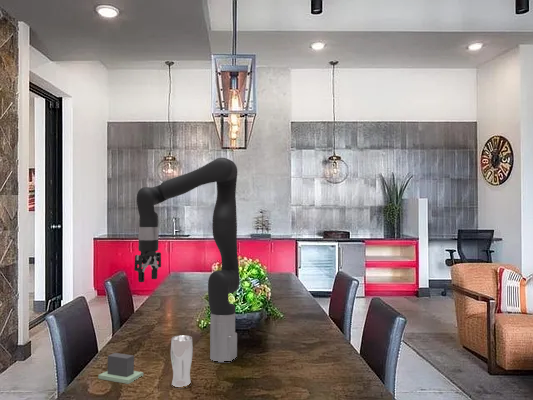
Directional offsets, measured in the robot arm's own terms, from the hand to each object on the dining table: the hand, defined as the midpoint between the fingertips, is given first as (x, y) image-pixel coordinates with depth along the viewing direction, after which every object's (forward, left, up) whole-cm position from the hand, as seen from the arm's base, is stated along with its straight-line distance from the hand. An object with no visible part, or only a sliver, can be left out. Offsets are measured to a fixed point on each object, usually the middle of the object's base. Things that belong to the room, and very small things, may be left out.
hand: (148, 280), depth 192 cm
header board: (-8, +26, -28) cm, 39 cm away
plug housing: (-8, +26, -27) cm, 38 cm away
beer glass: (-30, +24, -28) cm, 48 cm away
